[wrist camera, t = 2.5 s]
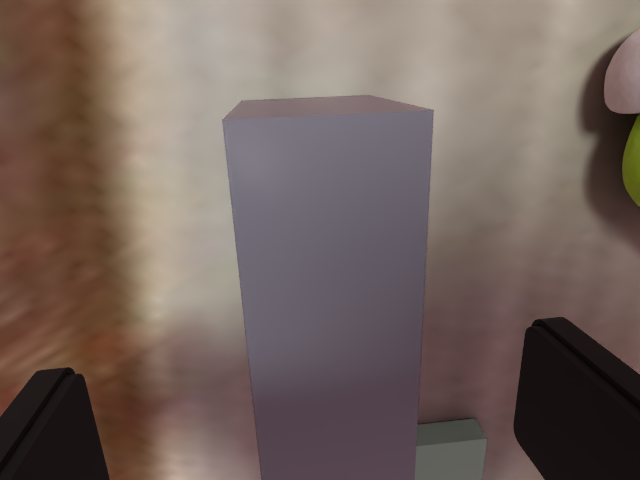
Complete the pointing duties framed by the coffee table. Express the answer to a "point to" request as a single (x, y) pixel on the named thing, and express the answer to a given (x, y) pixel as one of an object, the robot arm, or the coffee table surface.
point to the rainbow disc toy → (627, 105)
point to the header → (450, 451)
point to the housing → (332, 279)
